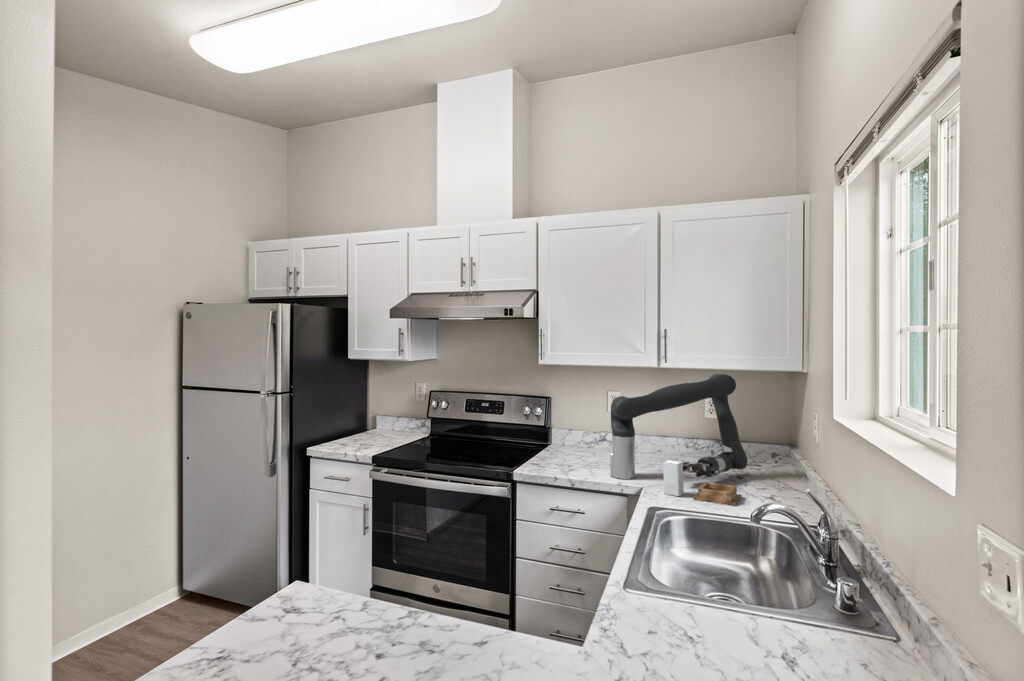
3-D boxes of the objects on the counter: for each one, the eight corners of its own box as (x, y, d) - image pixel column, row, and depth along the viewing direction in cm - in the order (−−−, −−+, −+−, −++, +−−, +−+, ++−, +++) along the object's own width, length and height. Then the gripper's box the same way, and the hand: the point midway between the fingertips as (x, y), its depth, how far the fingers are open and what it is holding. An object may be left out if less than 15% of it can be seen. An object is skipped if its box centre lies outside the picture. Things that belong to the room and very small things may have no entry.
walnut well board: (693, 499, 197) (693, 488, 197) (701, 491, 207) (701, 481, 207) (735, 506, 189) (735, 494, 189) (741, 497, 199) (741, 486, 199)
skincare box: (684, 494, 203) (684, 461, 203) (678, 497, 200) (678, 464, 200) (668, 491, 207) (668, 459, 207) (662, 494, 204) (662, 461, 204)
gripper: (695, 453, 224) (671, 458, 214) (727, 459, 213) (703, 465, 203) (695, 471, 224) (671, 478, 214) (727, 478, 213) (703, 485, 203)
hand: (686, 471), depth 209 cm, fingers open, 8 cm apart
